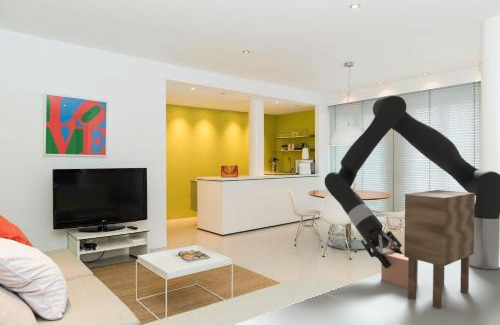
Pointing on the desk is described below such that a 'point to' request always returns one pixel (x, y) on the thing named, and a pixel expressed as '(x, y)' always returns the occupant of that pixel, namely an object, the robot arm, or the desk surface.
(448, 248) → the walnut cabinet
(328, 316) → the desk surface
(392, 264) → the terracotta block
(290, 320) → the desk surface
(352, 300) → the desk surface
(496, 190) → the robot arm
